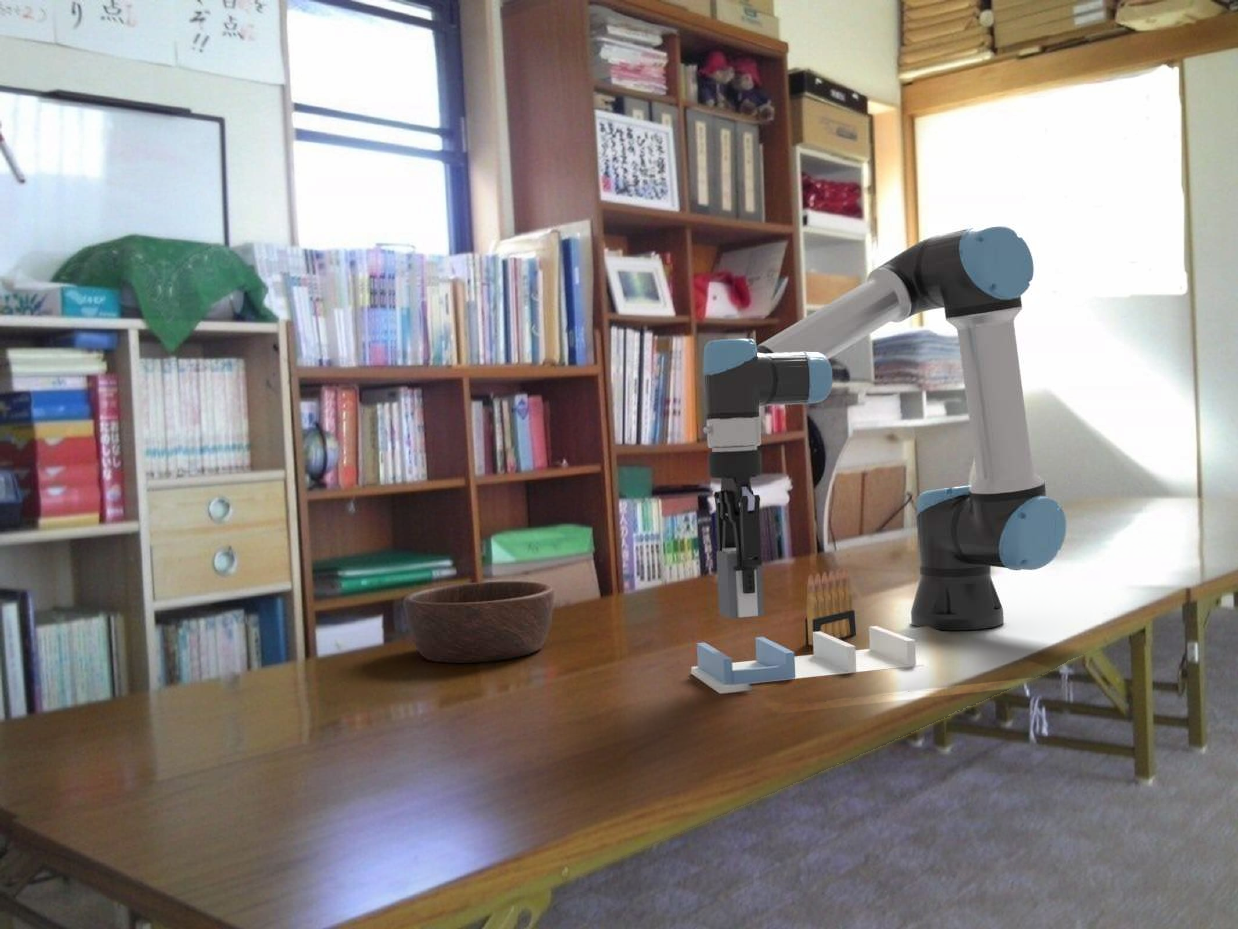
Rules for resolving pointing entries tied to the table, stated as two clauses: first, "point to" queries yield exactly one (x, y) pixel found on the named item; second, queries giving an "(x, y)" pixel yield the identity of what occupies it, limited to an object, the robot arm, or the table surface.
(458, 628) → the wooden bowl
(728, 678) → the slotted holder tray
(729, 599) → the plug
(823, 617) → the ammunition clip
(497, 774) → the table surface
